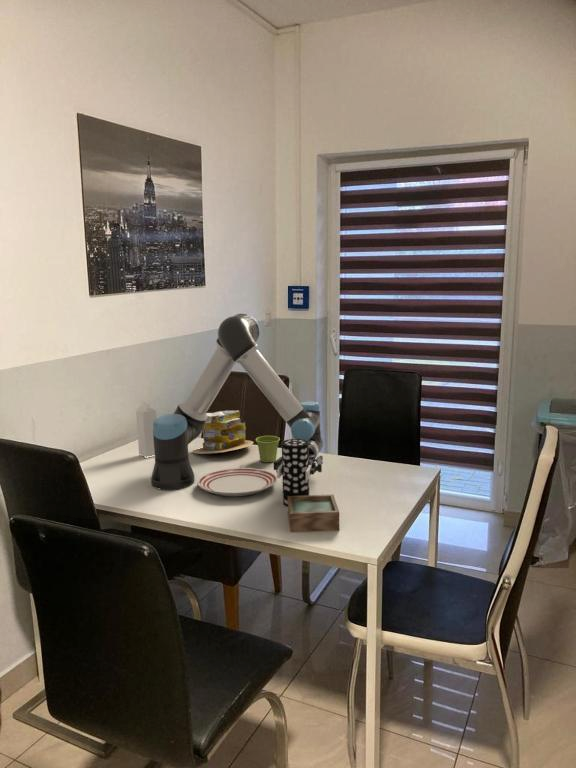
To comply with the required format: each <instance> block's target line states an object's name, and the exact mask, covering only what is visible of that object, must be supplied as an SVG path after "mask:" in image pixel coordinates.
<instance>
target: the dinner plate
mask: <svg viewBox="0 0 576 768" xmlns="http://www.w3.org/2000/svg"><path fill="white" fill-rule="evenodd" d="M278 481H279V478H277V474H275V473H273V472H271V471H269V470H266V469H261V468H253V467H233V468H226V469H225V468H224V469H219V470H215V471H210V472H207V473H205V474H203V475H202V476H200V477H198V479H197V481H196V482H197V485H198V487H199V488H200V489H202V490H204V491H206V492H209V493H211V494H212V493H213V494H215V495H219V494H220V495H219V496H223V495H225V497H243V496H248V495H249V496H250V495H254V494H256V493H260V492H263V491H265V490H267V489H269V488H271V487H273V486H274V485H275V484H276V483H277V482H278Z"/></svg>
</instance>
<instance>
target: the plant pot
mask: <svg viewBox="0 0 576 768" xmlns="http://www.w3.org/2000/svg"><path fill="white" fill-rule="evenodd" d="M280 440H281V439H280V437H278V436H275V435H262V436H258V437H256V438H255V442H256V444H257V448H258V453H259V459H260V461H261V462H263V463H274V462H275V461H276V460H277V456H278V455H277V454H278V446H279V442H280Z"/></svg>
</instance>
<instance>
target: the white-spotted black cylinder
mask: <svg viewBox="0 0 576 768" xmlns="http://www.w3.org/2000/svg"><path fill="white" fill-rule="evenodd" d="M281 457H282V475H281V478H282V503H283V504H282V505H283V506H284V507H287V508H288V496H305V495H310V478H309V479H308V480H306V470H307V468H308V466H309V457H308V441H306V440H303V439H295V438H291V439H285V440H282V441H281Z"/></svg>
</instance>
